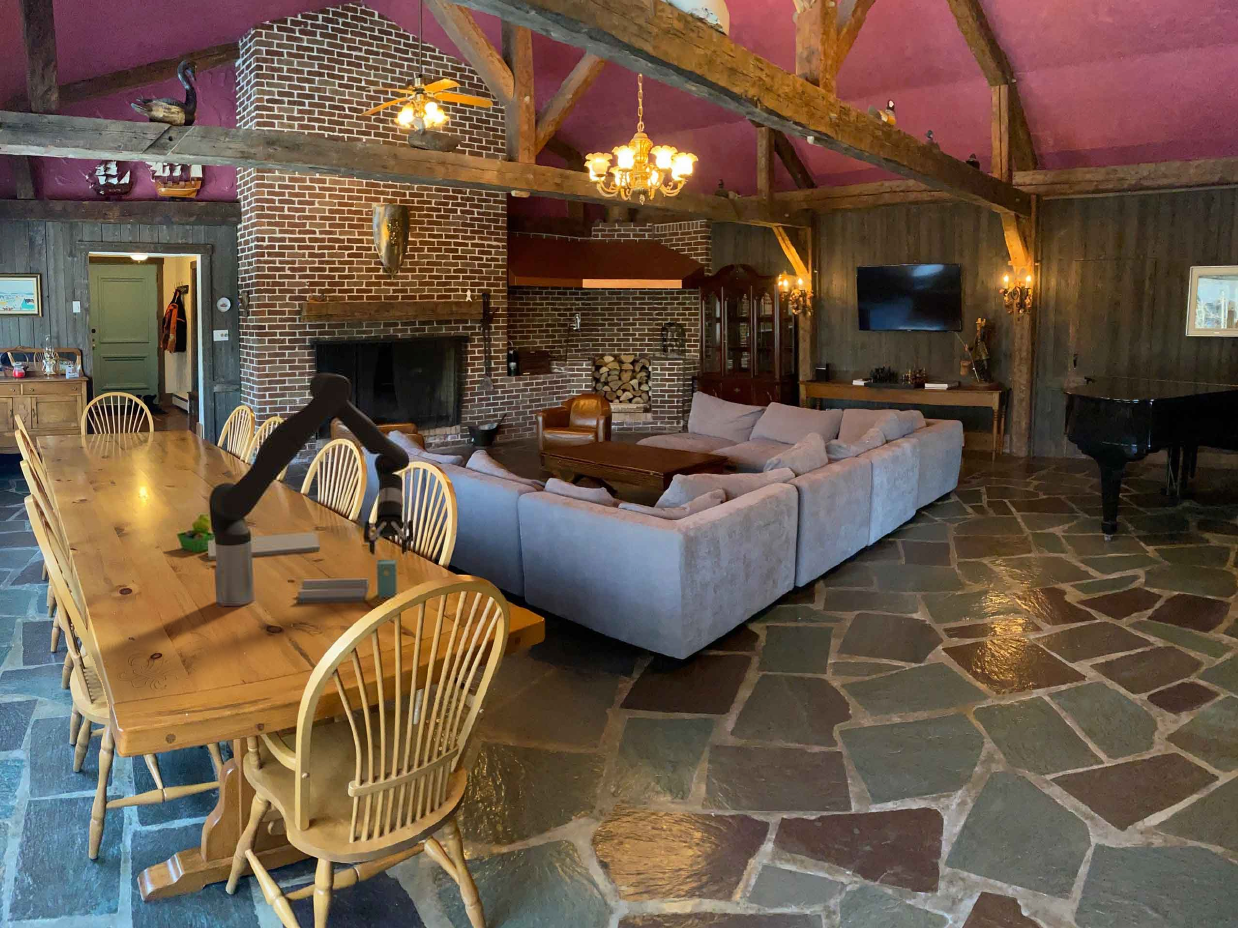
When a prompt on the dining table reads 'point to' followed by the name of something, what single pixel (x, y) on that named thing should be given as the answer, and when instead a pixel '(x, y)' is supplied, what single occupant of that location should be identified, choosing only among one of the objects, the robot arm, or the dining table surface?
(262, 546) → the light grey long block
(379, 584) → the teal cabinet block
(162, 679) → the dining table surface
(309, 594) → the cleat board
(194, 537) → the fruit basket
